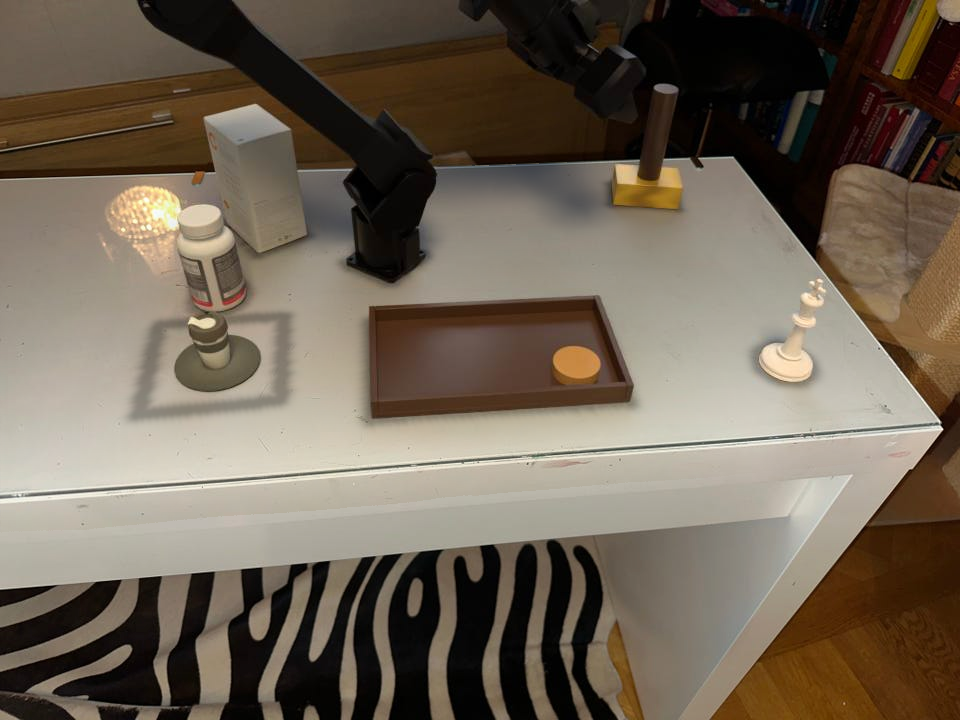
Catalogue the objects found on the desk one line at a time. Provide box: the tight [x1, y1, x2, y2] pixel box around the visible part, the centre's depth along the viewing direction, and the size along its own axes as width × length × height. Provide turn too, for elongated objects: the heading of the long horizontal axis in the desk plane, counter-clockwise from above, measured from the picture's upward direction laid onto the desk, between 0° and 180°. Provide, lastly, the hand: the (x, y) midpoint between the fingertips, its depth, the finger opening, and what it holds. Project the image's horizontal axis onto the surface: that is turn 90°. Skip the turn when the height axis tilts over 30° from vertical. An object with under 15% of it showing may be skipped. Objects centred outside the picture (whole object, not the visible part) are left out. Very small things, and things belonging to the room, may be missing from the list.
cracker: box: [552, 346, 601, 385], centre depth 69 cm, size 4×4×1 cm
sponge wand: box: [611, 83, 684, 210], centre depth 90 cm, size 8×5×14 cm, turn 85°
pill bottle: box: [176, 203, 247, 313], centre depth 74 cm, size 5×5×10 cm
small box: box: [203, 103, 308, 254], centre depth 82 cm, size 8×6×13 cm
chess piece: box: [758, 278, 828, 383], centre depth 69 cm, size 5×5×10 cm
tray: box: [368, 294, 635, 419], centre depth 71 cm, size 23×13×2 cm, turn 97°
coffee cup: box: [173, 311, 261, 392], centre depth 68 cm, size 12×12×5 cm
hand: (610, 102), depth 83 cm, fingers open, 9 cm apart
